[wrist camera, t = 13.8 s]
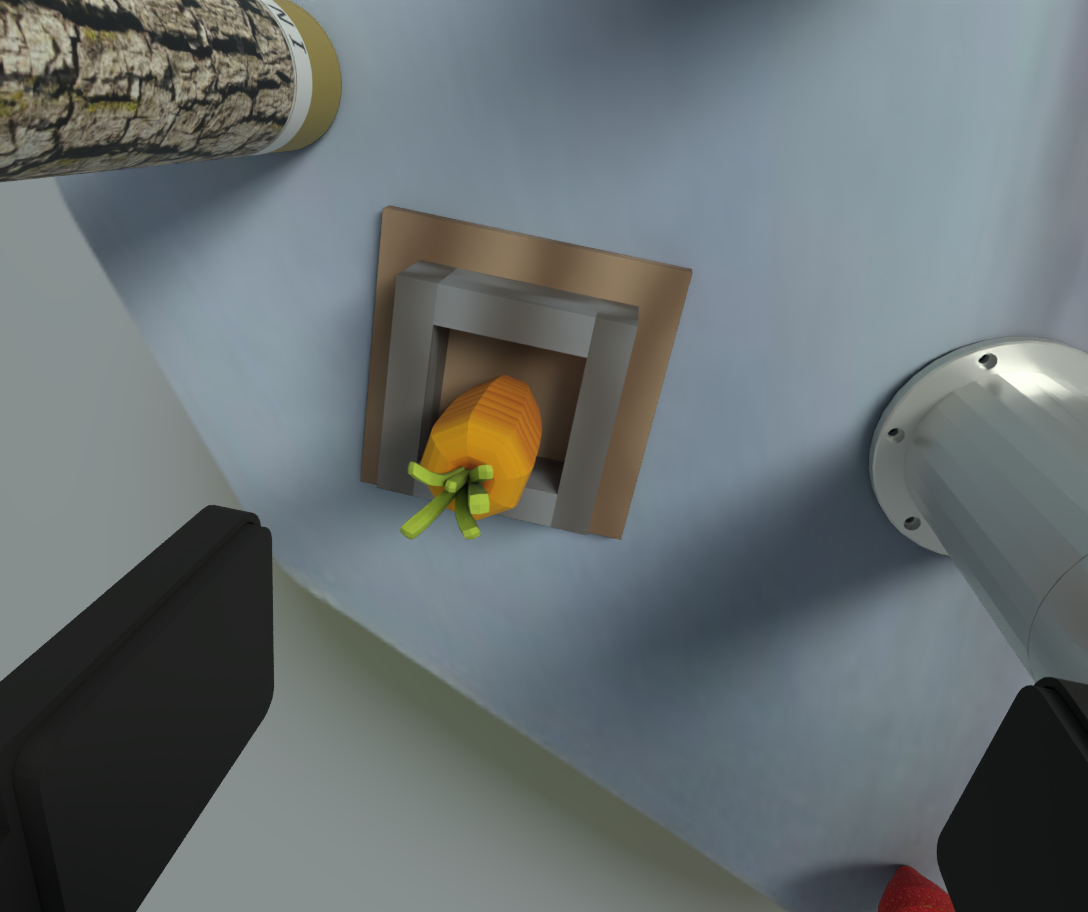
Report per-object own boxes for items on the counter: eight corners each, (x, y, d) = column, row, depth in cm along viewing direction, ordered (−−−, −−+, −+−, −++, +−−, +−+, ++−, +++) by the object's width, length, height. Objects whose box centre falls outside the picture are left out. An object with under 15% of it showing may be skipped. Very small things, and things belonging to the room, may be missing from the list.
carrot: (474, 427, 42) (390, 576, 29) (467, 342, 40) (374, 461, 27) (560, 429, 42) (516, 583, 28) (559, 343, 39) (510, 465, 26)
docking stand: (691, 269, 38) (697, 290, 34) (621, 531, 45) (618, 577, 40) (389, 205, 39) (354, 217, 34) (366, 473, 46) (335, 513, 41)
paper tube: (335, 168, 38) (-116, 248, 16) (209, 127, 38) (-424, 147, 16) (358, 22, 35) (-157, -139, 13) (221, -23, 35) (-537, -264, 13)
